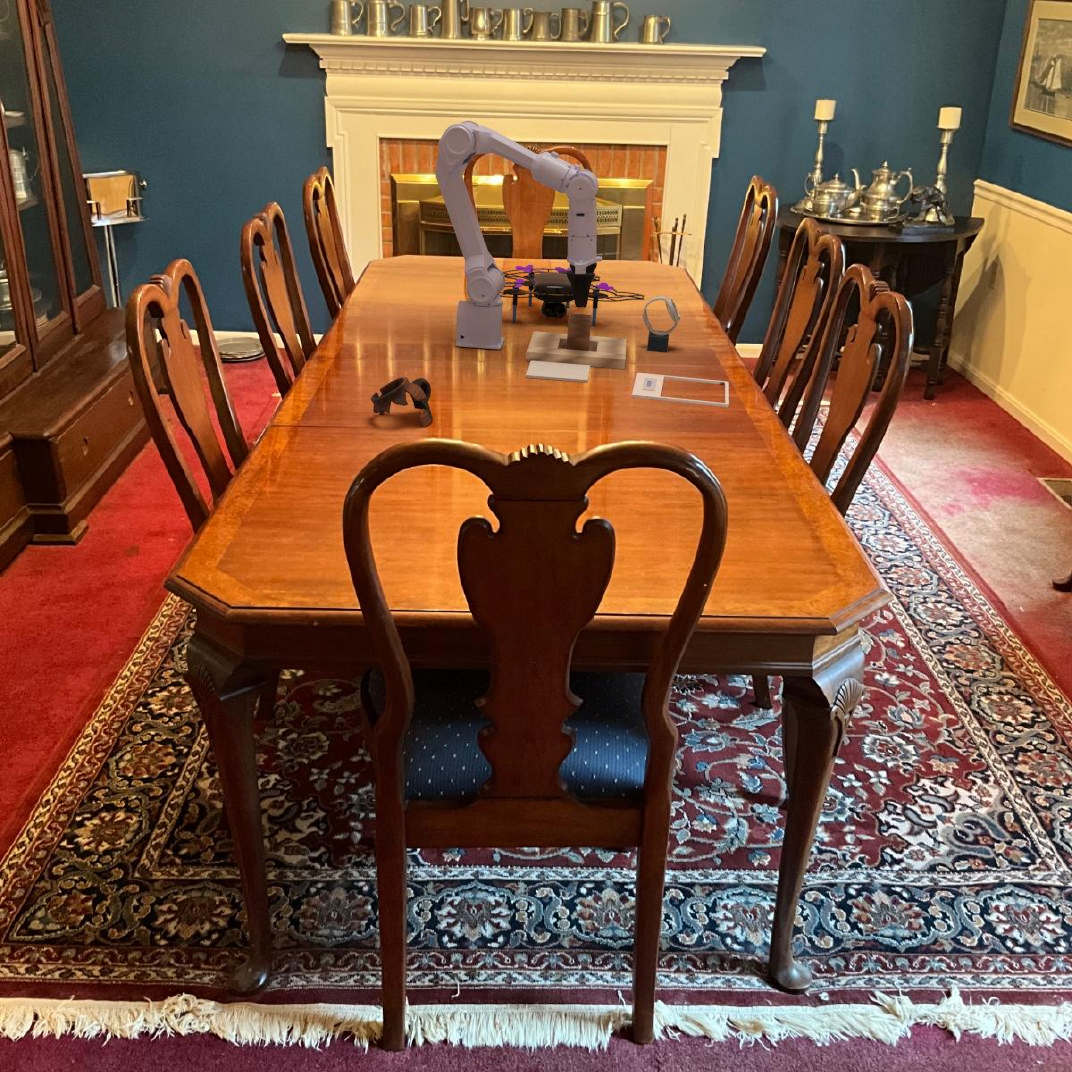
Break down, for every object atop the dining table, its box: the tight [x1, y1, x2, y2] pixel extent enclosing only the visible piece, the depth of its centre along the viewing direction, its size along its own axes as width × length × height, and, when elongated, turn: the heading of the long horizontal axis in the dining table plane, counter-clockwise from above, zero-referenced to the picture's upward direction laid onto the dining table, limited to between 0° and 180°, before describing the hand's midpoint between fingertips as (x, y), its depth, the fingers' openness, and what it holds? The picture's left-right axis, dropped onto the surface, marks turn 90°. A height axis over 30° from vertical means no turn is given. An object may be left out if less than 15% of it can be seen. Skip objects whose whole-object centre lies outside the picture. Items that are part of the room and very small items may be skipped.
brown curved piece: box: [370, 376, 434, 428], centre depth 181 cm, size 12×10×8 cm
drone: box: [500, 264, 646, 327], centre depth 250 cm, size 40×10×28 cm
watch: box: [642, 295, 681, 353], centre depth 228 cm, size 6×8×11 cm
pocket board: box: [525, 330, 627, 370], centre depth 222 cm, size 20×16×2 cm
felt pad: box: [525, 361, 591, 383], centre depth 210 cm, size 12×10×1 cm
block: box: [566, 312, 593, 351], centre depth 221 cm, size 4×4×8 cm
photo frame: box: [631, 372, 730, 408], centre depth 204 cm, size 15×1×18 cm
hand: (581, 302), depth 218 cm, fingers open, 7 cm apart
